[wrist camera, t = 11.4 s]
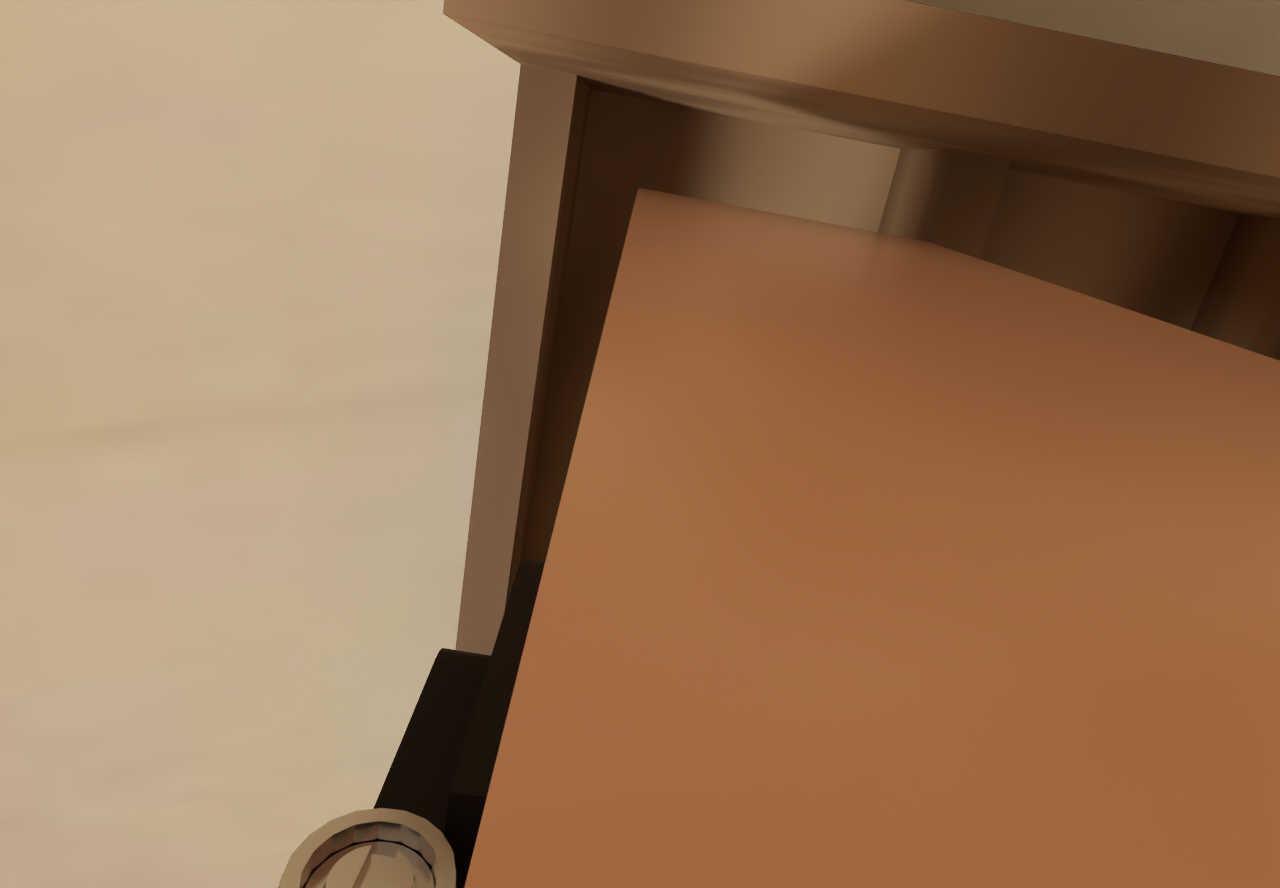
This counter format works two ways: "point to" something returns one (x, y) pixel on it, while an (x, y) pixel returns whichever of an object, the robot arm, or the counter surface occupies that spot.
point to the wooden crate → (845, 185)
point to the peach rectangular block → (896, 583)
